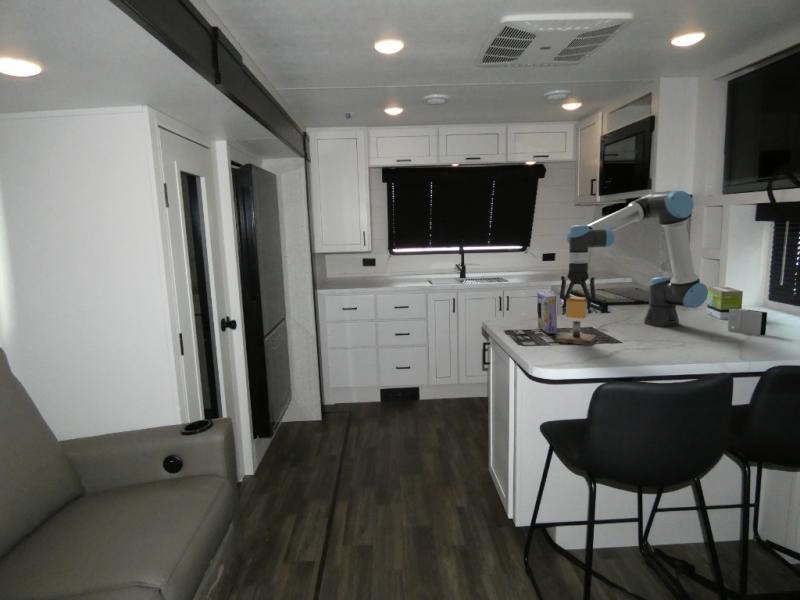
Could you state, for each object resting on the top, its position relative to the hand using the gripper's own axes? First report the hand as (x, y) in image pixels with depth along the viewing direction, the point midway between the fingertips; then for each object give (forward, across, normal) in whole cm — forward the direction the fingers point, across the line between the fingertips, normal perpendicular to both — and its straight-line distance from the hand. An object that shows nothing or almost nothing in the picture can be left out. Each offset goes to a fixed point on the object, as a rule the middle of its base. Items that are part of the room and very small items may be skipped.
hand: (576, 315), depth 211 cm
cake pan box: (+11, -18, +16) cm, 27 cm away
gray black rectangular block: (+11, +61, +49) cm, 79 cm away
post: (+9, 0, 0) cm, 9 cm away
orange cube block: (0, 0, 0) cm, 0 cm away
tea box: (+11, +52, +86) cm, 101 cm away
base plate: (+11, 0, 0) cm, 11 cm away
